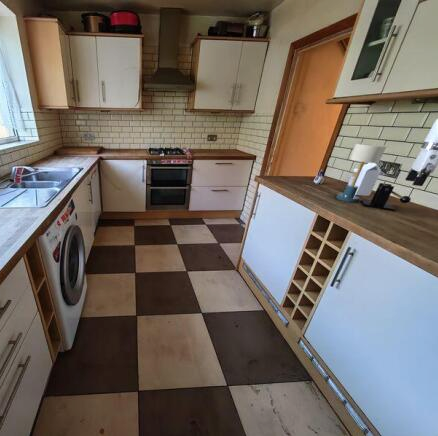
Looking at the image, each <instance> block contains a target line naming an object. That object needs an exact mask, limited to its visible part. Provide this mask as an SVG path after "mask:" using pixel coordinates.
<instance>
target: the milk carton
mask: <svg viewBox="0 0 438 436" xmlns="http://www.w3.org/2000/svg"><path fill="white" fill-rule="evenodd" d="M380 175H381V170H380V168H379V166H378V164H377V163H369V162H367V163H366V164H364V165H363V167H362V170H361V172H360V174H359V176H358V179H357V181H356V183H355V185H356V186H358V189H357V191H356V193H355V196H364V197H370V195H371V193H372V191H373V189H374V187H375V185H376V183H377V181H378V179H379V177H380Z"/></svg>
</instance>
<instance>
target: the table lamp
mask: <svg viewBox="0 0 438 436" xmlns="http://www.w3.org/2000/svg"><path fill="white" fill-rule="evenodd" d="M386 148H387V145H384V144H378V143H367V142H366V143H365V142H356V143H355V144H354V146H353V149H352V151H351V154H350V156H349V160H351V161H356V162H360V164H359V166H358V171H357V173H356V175H355V178H354V180H353V182H352V185H348V184H346V186H345V188H344V191H343V192H340V193H339V192H338V193H337V194H336V196H335V198H336V199H337V200H339V201H342V202H347V203H359V201H360V200H361V199H360V197H359V195H355V193H356V191H357V189H358V186H356V185H355V183H356V181H357V179H358V176H359V174H360V172H361V170H362V167H363V166H364V165H365V163H376V164H377V163H380V161H381V159H382V157H383V154H384V152H385V151H386Z"/></svg>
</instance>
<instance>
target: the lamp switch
mask: <svg viewBox="0 0 438 436" xmlns="http://www.w3.org/2000/svg"><path fill="white" fill-rule="evenodd" d="M385 184H386V183H384V185H385ZM380 188H381V187H380ZM391 194H393V195H394V196H396V197H398V198H399V201H400V203H403V204H407V203H410V202H411V199H412V198H411V196H408V195H401V194H399V193H397V192H395V191H394V190H392V192H391Z"/></svg>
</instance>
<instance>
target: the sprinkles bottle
mask: <svg viewBox="0 0 438 436" xmlns="http://www.w3.org/2000/svg"><path fill="white" fill-rule="evenodd" d="M358 168H359V167H358ZM358 168H357V167H356V168H355V167H354V169H353V172H352V175H351V176H350V179H349V181H348V184H347V185H352V182H353V180H354V178H355V175H356V173H357V171H358Z"/></svg>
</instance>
